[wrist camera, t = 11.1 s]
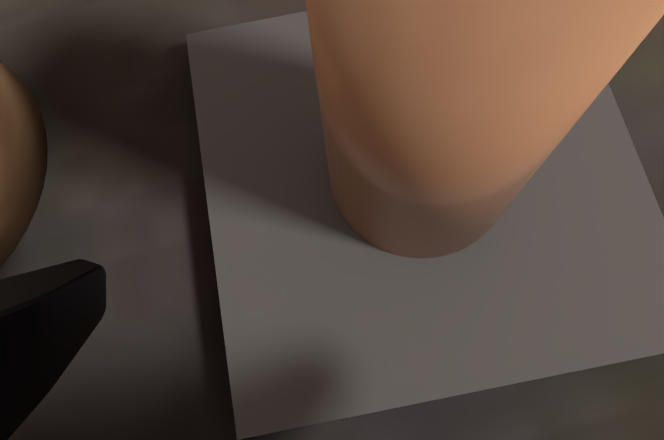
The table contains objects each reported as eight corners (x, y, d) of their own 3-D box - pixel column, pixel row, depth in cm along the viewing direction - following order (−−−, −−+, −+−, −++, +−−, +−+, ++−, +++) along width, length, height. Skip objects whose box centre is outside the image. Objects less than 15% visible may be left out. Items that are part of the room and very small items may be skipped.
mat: (690, 346, 14) (715, 343, 13) (245, 436, 14) (236, 440, 13) (548, -15, 18) (559, -38, 17) (195, 53, 18) (185, 34, 17)
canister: (487, 281, 14) (764, 43, 4) (305, 228, 15) (208, -78, 5) (525, 117, 15) (799, -332, 6) (358, 75, 16) (359, -390, 6)
